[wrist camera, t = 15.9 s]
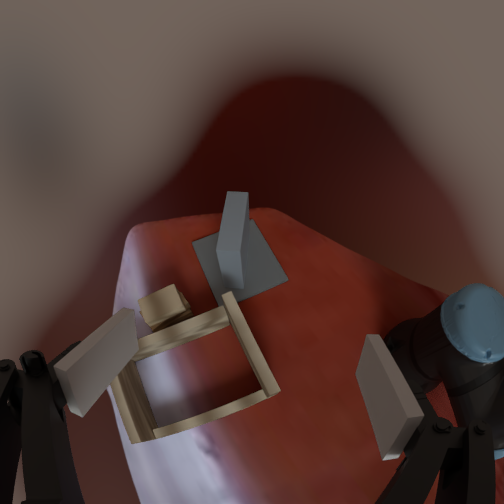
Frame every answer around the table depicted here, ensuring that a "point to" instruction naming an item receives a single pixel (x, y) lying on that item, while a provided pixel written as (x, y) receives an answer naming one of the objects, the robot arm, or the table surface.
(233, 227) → the grey rectangular block
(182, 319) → the offcut
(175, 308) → the offcut
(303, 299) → the table surface
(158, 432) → the rack
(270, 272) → the mat
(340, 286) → the table surface
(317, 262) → the table surface
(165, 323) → the offcut
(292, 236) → the table surface
